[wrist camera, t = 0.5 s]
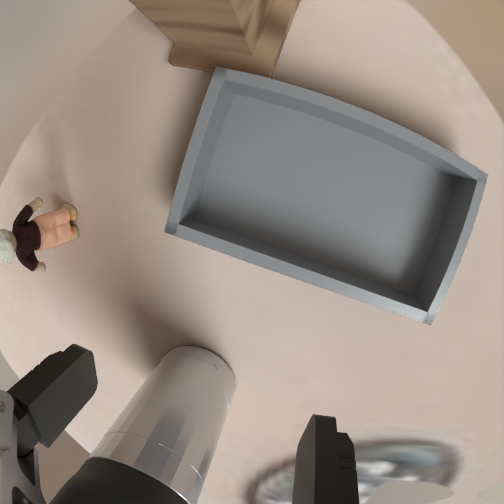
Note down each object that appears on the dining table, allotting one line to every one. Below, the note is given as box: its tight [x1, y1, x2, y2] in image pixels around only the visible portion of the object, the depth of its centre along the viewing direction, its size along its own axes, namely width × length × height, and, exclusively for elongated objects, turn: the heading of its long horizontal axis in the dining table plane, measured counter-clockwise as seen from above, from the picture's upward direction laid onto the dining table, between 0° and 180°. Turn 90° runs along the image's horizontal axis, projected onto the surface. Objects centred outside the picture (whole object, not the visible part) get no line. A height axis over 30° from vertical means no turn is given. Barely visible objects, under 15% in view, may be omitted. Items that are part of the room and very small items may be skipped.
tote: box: [164, 67, 488, 325], centre depth 23 cm, size 14×24×5 cm, turn 72°
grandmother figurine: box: [0, 197, 79, 272], centre depth 25 cm, size 8×4×13 cm, turn 9°
